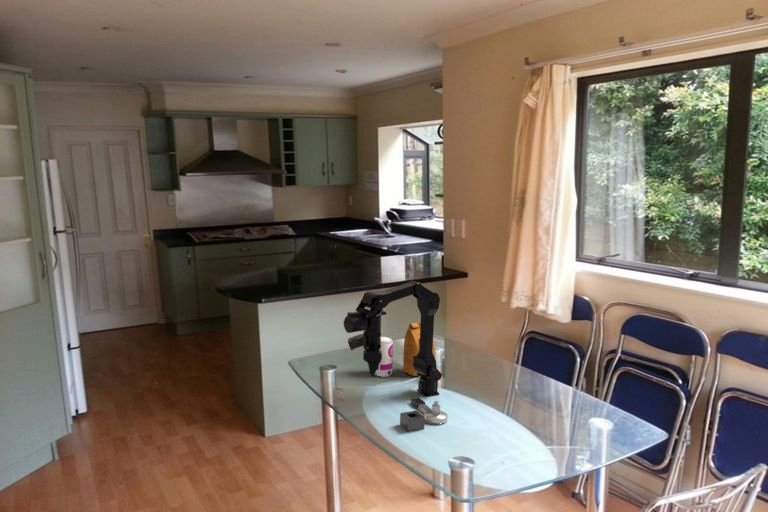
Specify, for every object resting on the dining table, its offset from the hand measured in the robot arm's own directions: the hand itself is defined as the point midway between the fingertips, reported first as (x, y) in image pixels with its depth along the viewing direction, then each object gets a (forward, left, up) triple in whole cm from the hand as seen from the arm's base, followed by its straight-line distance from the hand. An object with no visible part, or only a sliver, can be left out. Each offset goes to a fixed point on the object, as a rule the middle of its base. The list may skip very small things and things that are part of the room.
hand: (371, 371), depth 207 cm
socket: (-7, +18, -14) cm, 24 cm away
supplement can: (-18, -31, -14) cm, 38 cm away
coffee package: (-33, -27, -14) cm, 45 cm away
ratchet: (-17, +10, -14) cm, 24 cm away
